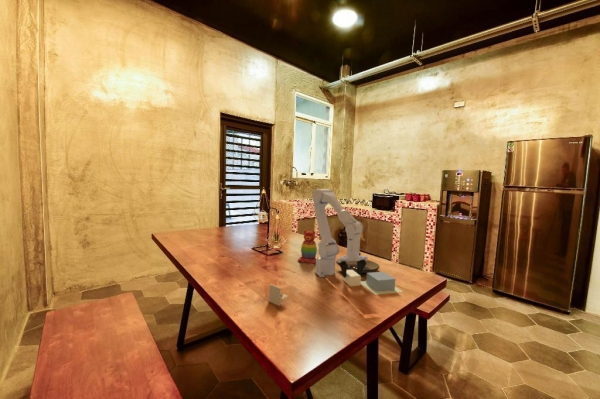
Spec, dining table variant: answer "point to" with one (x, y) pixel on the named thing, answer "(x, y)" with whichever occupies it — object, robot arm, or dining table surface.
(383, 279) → the blue base brick
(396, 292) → the baseplate
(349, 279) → the cream brick
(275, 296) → the grey tabbed plate
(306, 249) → the stacking bear
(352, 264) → the dark shallow pan
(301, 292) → the dining table surface
